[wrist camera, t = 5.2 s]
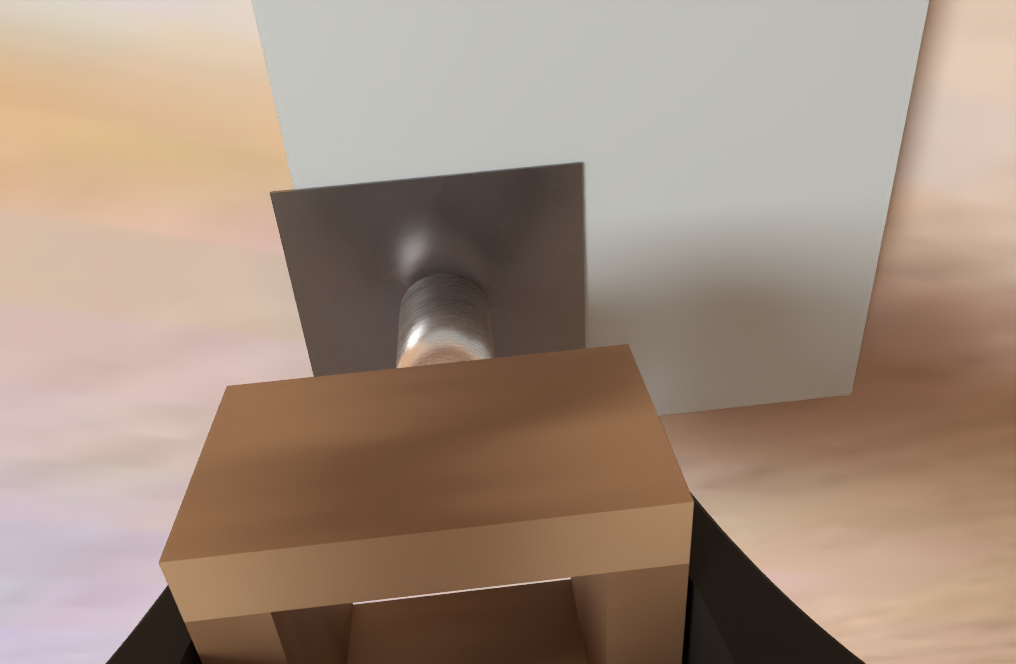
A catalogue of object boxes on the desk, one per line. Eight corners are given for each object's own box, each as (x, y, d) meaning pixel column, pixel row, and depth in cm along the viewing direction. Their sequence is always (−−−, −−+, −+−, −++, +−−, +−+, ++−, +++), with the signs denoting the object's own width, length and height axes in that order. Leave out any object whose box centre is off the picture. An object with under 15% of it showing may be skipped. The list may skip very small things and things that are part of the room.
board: (920, -93, 16) (946, -90, 16) (835, 374, 23) (851, 394, 22) (254, -36, 16) (245, -31, 15) (354, 427, 22) (351, 449, 21)
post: (581, 161, 18) (629, 256, 13) (586, 408, 21) (626, 545, 17) (270, 191, 17) (219, 297, 13) (329, 436, 21) (304, 583, 17)
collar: (628, 343, 12) (694, 501, 9) (624, 609, 15) (671, 789, 12) (227, 386, 11) (158, 562, 9) (308, 646, 15) (279, 840, 12)
